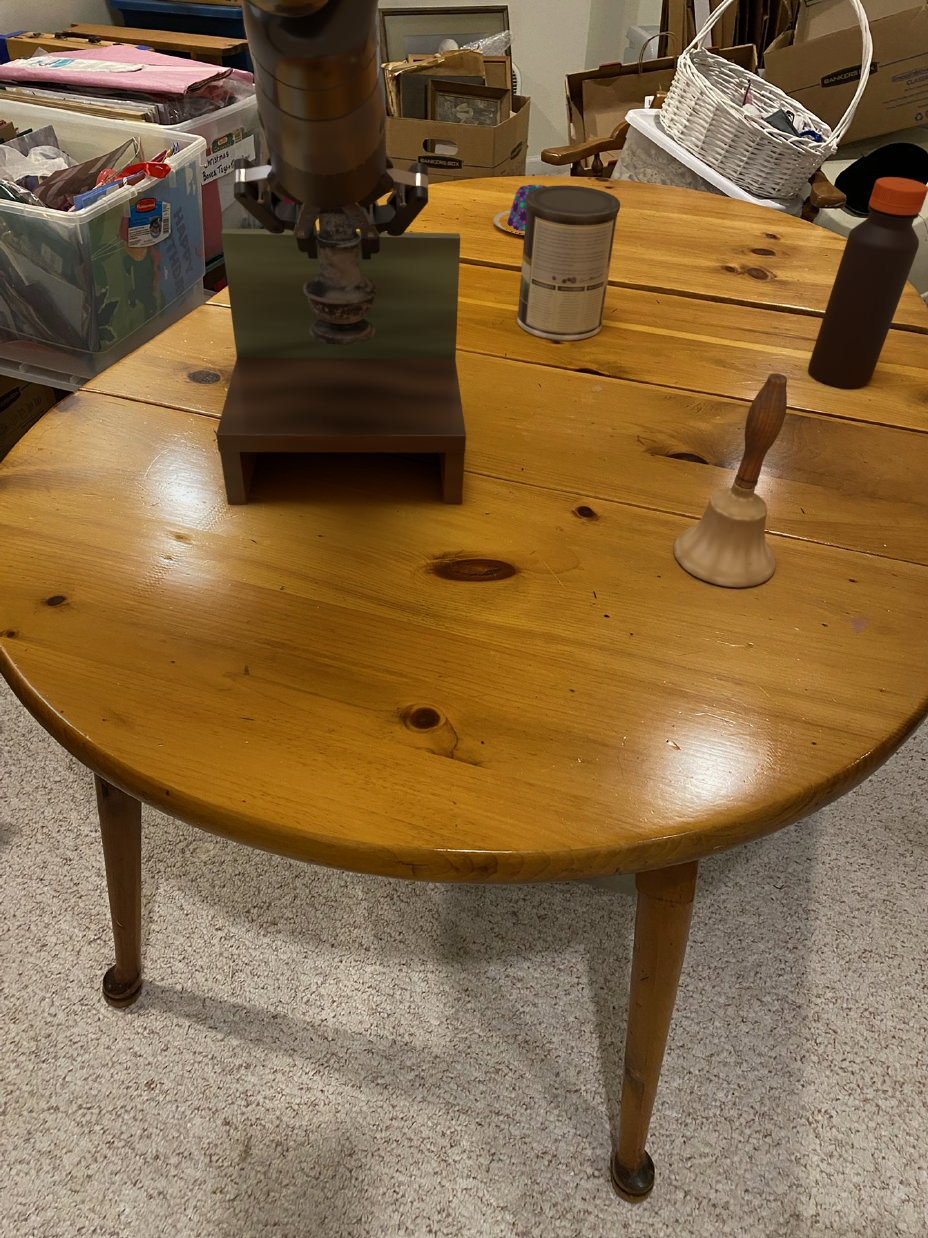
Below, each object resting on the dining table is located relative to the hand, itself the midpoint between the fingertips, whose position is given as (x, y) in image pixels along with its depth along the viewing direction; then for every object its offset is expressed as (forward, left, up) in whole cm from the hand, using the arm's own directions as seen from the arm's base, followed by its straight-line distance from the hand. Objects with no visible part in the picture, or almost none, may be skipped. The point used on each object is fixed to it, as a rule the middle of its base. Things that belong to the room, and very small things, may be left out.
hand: (339, 247), depth 73 cm
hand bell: (+34, +8, -19) cm, 40 cm away
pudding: (-22, +66, -19) cm, 72 cm away
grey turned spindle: (+1, -2, -6) cm, 7 cm away
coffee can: (-1, +39, -19) cm, 43 cm away
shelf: (+1, -1, -19) cm, 19 cm away
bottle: (+30, +48, -19) cm, 60 cm away
